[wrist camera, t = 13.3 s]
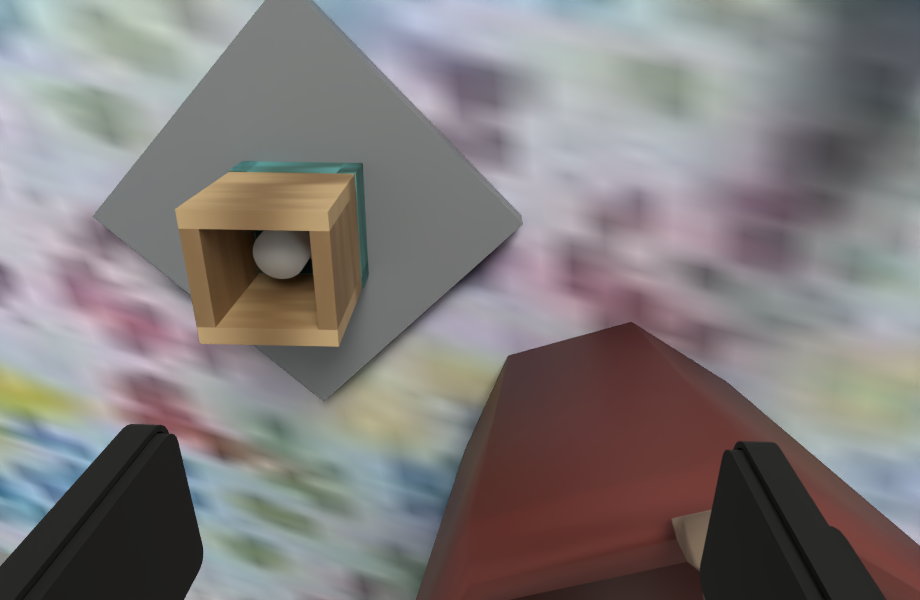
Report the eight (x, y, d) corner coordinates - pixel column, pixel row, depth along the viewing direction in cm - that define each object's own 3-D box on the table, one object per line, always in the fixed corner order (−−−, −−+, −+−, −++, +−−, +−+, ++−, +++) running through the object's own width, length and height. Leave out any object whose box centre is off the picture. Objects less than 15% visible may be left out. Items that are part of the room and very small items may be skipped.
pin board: (521, 215, 35) (529, 259, 29) (329, 387, 40) (303, 455, 34) (291, -21, 30) (246, -27, 24) (107, 208, 35) (32, 250, 29)
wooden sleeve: (362, 162, 32) (328, 210, 25) (368, 275, 35) (340, 347, 27) (241, 161, 32) (173, 208, 25) (257, 272, 35) (199, 344, 28)
